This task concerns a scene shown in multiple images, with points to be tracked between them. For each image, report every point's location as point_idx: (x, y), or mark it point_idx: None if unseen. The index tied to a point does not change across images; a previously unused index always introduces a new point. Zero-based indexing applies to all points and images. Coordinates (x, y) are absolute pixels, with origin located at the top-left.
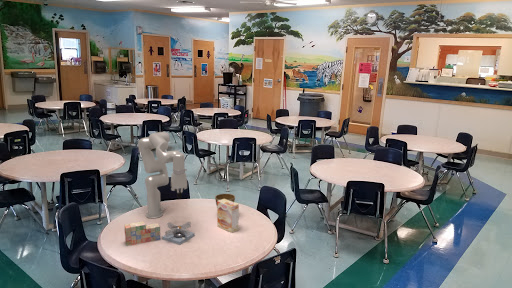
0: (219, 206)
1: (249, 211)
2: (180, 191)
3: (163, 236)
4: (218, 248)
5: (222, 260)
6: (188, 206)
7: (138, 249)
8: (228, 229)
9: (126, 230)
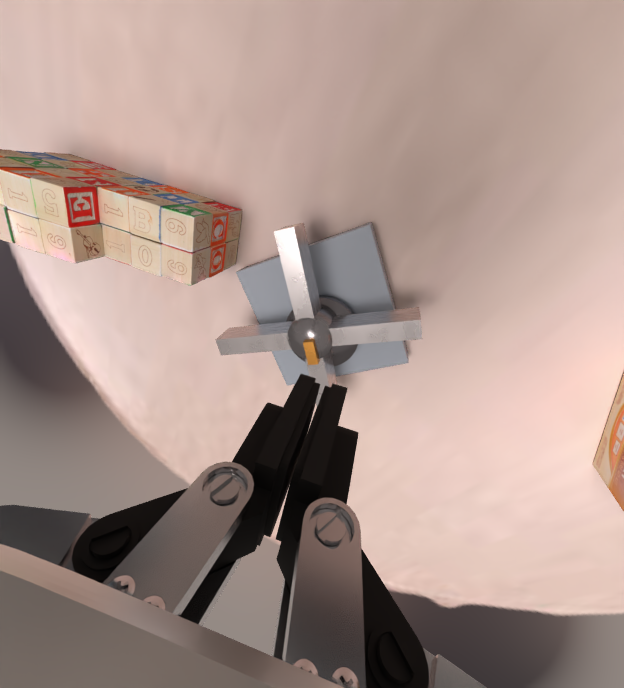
0: None
1: None
2: (284, 573)
3: (242, 278)
4: (404, 499)
5: None
6: None
7: (123, 286)
8: (605, 456)
9: None
